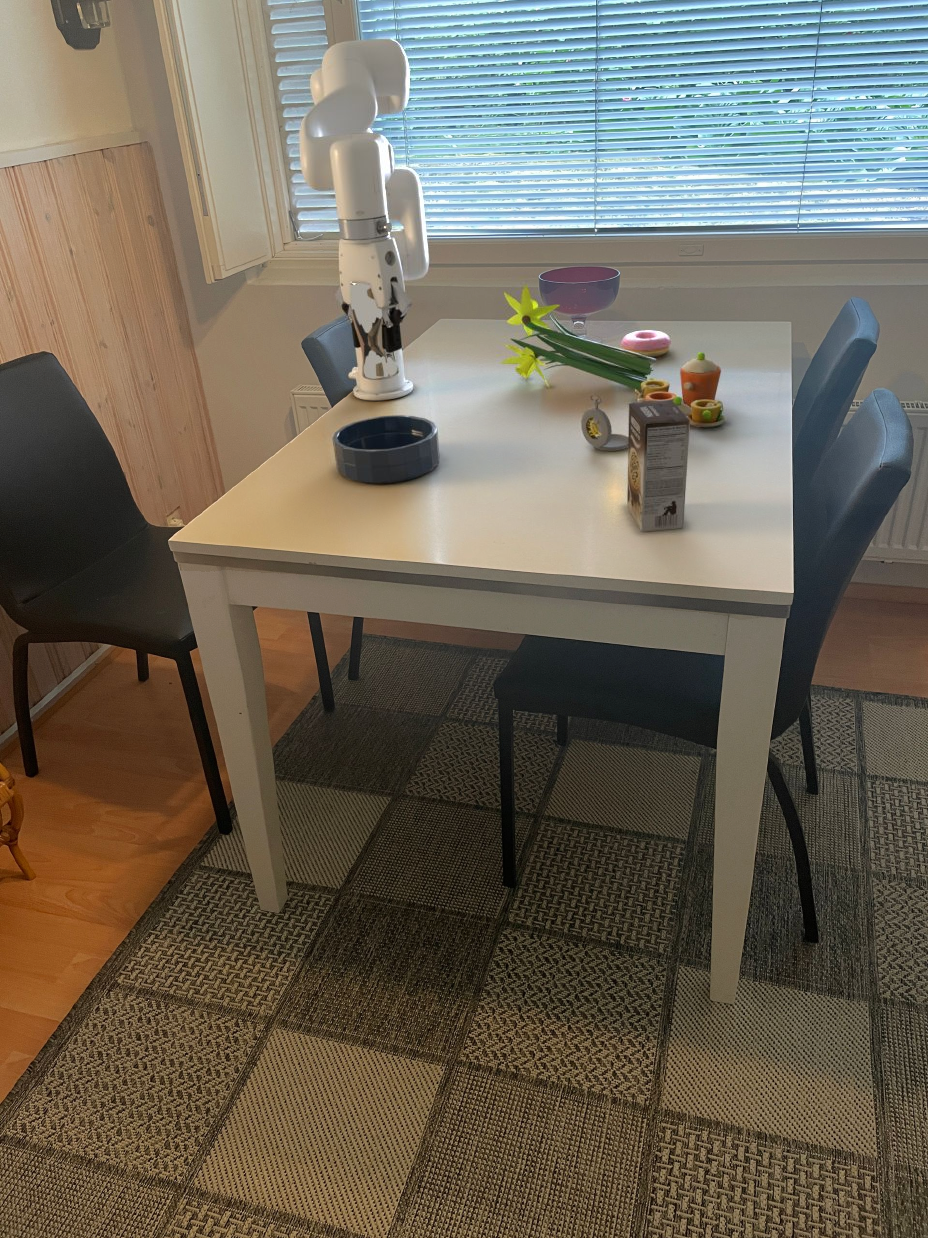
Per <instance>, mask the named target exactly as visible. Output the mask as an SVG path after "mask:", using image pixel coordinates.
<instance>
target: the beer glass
mask: <svg viewBox="0 0 928 1238" xmlns="http://www.w3.org/2000/svg"><path fill="white" fill-rule="evenodd" d="M349 289H350V305H351V312H352V318H353V322H354V326H355V330H356V333H357V336H358V339H359V343H360V346H361V351H362V358H363V366H362V376H363V377H364V378H365V379H370V380H381V379H388V378H392V377H395V376H397V375H398V374H399V368H398V364H397V361H396V357H395V351H394V352H391V353H387V352H386V349H385V340H384V331H383V329H384V327H386V324H385V321H384V319H383V315H382V309H379V308H377V306H376V302H375V300H374V296H373V293H372V290H371V287H370V283H352V282H350V281H349ZM390 304H392V298H390V299H389V305H390ZM388 311H389V313H390V316H391V315H392V314H393V309H389V310H388Z"/></svg>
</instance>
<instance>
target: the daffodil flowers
mask: <svg viewBox="0 0 928 1238" xmlns="http://www.w3.org/2000/svg"><path fill="white" fill-rule="evenodd" d="M530 292H531V291H530V290H529V287H528V285H527V284H525V285H524V287H523V289H522V292H521V296H520V302H519V301H518V300H517V299H516V298H514V297H513V296H511V295H510V294H508V293H506V292H503V294H504V297H505V299H506V302H508V305H509V306H510V307H511V308H512V309H513V310H514V311H515V312H517V313H516V314H514V315H513V316H511V317H510V318H509V319H508V320H507V321H506V323H507V324H510V325H512V326H520V325H523V328H524V331H525V332H526V335H527V336H526V337H523V338H521V339H515V338H510V340H511V341H512V342H513V343H514V344H516V345H518V346H519V347H522V348H523V349H521V348H519V347H517V346H515V345H510V344H504V346H505V347H506V348H507V349H509V350H511V351H513V352H514V353H515V354H517V355H519V356H511V357H508V358H506V359H504V360H503V361H502V362H501V364H502V365H518V366H516V367H515V368H514V369H515V372H516V373H517V374H518V375H519V376H521V377H523V378H525V379H526V380H527V379H528V378H529V377H530V376H531V375H532V374H533V373H534V371H536V373H537V374H538V375H539V376H540V377H541V378H542V379H543V380H544V382H545V384H546V386H547V387H548V388H550V386H549V384H548V382H547V379H546V378H545V375H544V374H543V372H542V370H541V368H540V366H544V367H546V368H544V369H543V371H545V370H548V369H551V368H554V367H561V366H562V367H563V366H564V367H571V368H574V369H577V370H580V371H582V372H585V373H587V374H590V375H593V376H596V377H599V378H603V379H605V380H609V381H611V382H614V383H617V384H620V385H622V386H626V387H628V388H631V389H633V390H635V389H636V390H637V391H640V392H642V389H641V383H642V382H644V381H647V380H648V376H650V375H651V373H652V372H654V368H653V367H651V365H652V362H657V359H656V358H655V357H647V356H644V355H640V354H637V353H634V352H630V351H627V350H623V349H622V348H619V347H615V346H612V345H608V344H604V343H600V342H596V341H592V340H589V339H586V338H584V337H581V336H580V335H578V334H577V333H574V332H573V331H571V330H570V329H567V328H566V327H565V326H564V325H562V323H560V321H558V319H557V318H556V316H555V315H554V314H553V313H552V312H553V311H554V310H555V309H557V308H558V307H560V306H561V304H560V303H559V304H558V303H557V304H552V305H544V306H539V304H538V301H537V300H535V299H532V296H531V293H530ZM550 313H551V315H550ZM546 315H548V316H549V318H550V320H551V321H552V323H553V324H554V326H555V327H556V328H557V330H559V331H557V330H554V329H552V328H551V327H549V326H548V324H547V323H545V322H544V321H543V320H542V319H541V318H542V317H544V316H546ZM533 332H537V333H533ZM532 337H533V338H534V337H536V338H537V339H539V340H540V341H541V342H543V343H544V344H546V345H547V346H549V347H550V348H552V349H553V350H547V349H545V348H542V347H539V346H536V345H533V344H530V343H527V342H525V341H523V340H527V339H529V338H532ZM626 353H629V354H632V355H635V356H638V357H634V356H631V355H628V354H626ZM540 357H542V358H540ZM538 358H540V359H538ZM651 361H652V362H651ZM544 362H546V363H544ZM553 363H556V364H554V365H551V366H548V365H549V364H553Z"/></svg>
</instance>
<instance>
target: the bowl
mask: <svg viewBox="0 0 928 1238" xmlns="http://www.w3.org/2000/svg"><path fill="white" fill-rule="evenodd" d="M331 439H332V446H333V452H334V460H335V467H336V470H337V472H338V474H339V475H341V476H343V477H344V478H346V479H349V480H351V481H354V482H356V483H361V484H372V485H385V484H395V483H401V482H405V481H406V482H407V481H410V480H413V479H416V478H419V477H422V476H424V475H425V474H427V473H429V472H430V471H432V470H434V469H435V467H436V466H437V465H438V464H439V463H440V459H441V456H440V455H441V454H440V443H439V432H438V426H437V425H436V424H435V422H434V421H431V420H430V419H427V418H425V417H419V416H414V415H403V414H402V415H400V414H395V415H393V414H392V415H380V416H374V417H373V416H372V417H368V418H363V419H361V420H357V421H353V422H350V423H348V424H346V425H344V426H342V427H340V428H339V429H338V430H336V431H335V432H334V434H333V436H332V437H331Z"/></svg>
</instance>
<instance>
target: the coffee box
mask: <svg viewBox="0 0 928 1238" xmlns="http://www.w3.org/2000/svg"><path fill="white" fill-rule="evenodd" d="M687 417H688V416H686V415H685V414H684V413H683V412H682V411H681V410H680V409H679V407H678V406H677V405H676V404H675V403H674V402H673V401H672V400H664V401H644V402H638V401H635V402H629V403H628V433H627V434H628V436H627V437H628V447H627V491H626V493H627V502H626V503H627V504H626V507H627V509H628V511H629V512H630V515H631V516H632V518H633V519H634V522H635V523H636V525H637V526H638V528H639V530H640V532H642V533H643V532H654V531H666V530H676V529H683V528H684V519H685V503H686V492H687V491H686V490H687V489H686V487H687V475H688V462H689V461H688V460H689V459H688V458H689V443H690V442H689V441H690V425H691V424H690V420H689V419H688V418H687Z"/></svg>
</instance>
